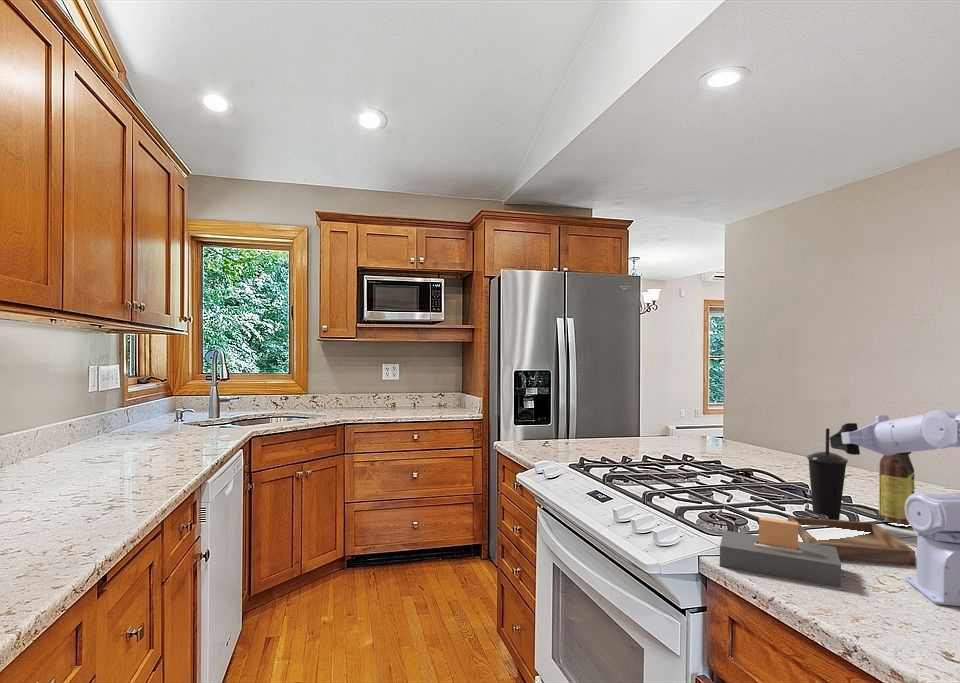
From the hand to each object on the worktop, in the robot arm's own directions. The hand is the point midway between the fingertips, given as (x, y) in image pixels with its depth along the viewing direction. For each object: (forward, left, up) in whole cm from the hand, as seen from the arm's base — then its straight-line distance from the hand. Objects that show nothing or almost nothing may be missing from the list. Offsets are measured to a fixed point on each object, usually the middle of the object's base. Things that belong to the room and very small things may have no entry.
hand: (850, 442), depth 113 cm
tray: (-1, +1, -20) cm, 20 cm away
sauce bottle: (+16, -15, -20) cm, 30 cm away
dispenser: (-15, +17, -20) cm, 30 cm away
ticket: (-15, +17, -20) cm, 30 cm away
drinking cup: (+15, -1, -20) cm, 25 cm away
